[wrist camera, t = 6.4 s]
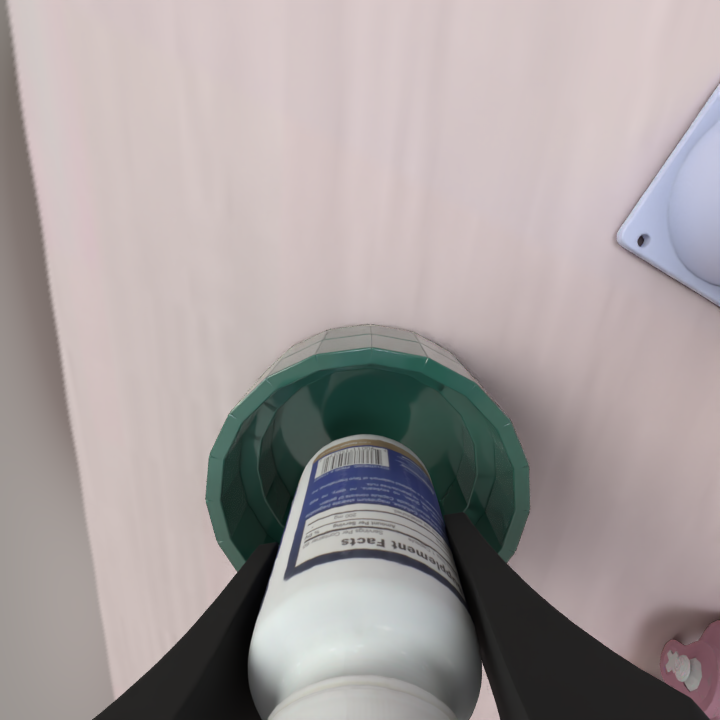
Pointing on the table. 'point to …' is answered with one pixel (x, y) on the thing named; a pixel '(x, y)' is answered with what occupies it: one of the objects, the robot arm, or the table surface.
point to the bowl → (365, 416)
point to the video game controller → (696, 669)
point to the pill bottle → (364, 597)
